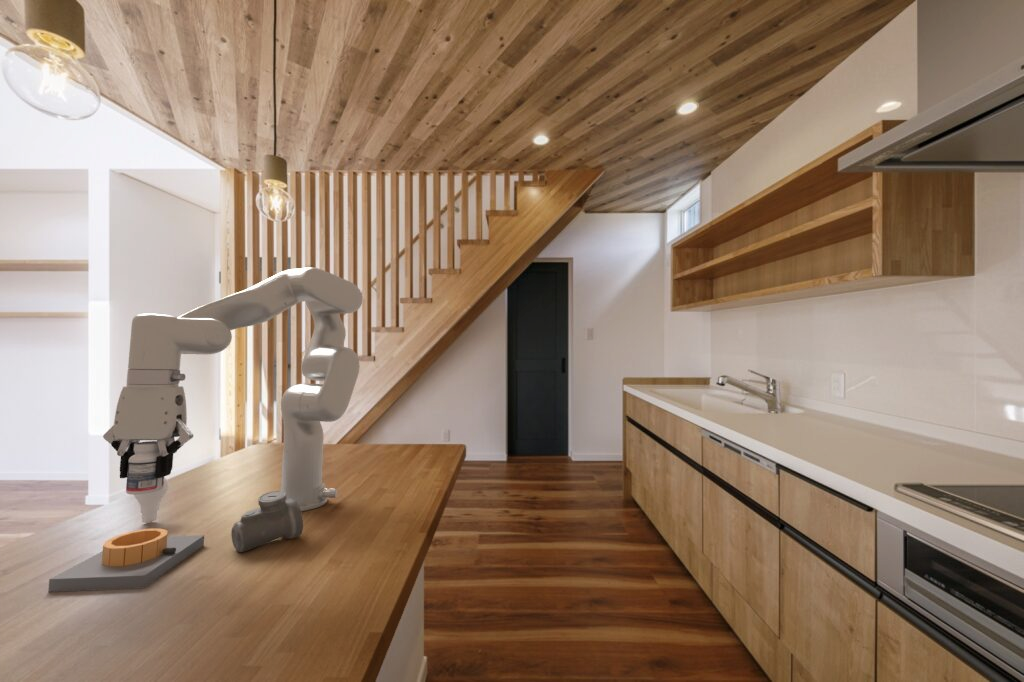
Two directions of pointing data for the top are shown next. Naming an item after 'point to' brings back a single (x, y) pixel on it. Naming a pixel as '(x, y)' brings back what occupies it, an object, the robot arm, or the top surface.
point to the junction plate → (125, 573)
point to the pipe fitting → (268, 522)
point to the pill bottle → (143, 469)
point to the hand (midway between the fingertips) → (145, 475)
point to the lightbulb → (151, 503)
